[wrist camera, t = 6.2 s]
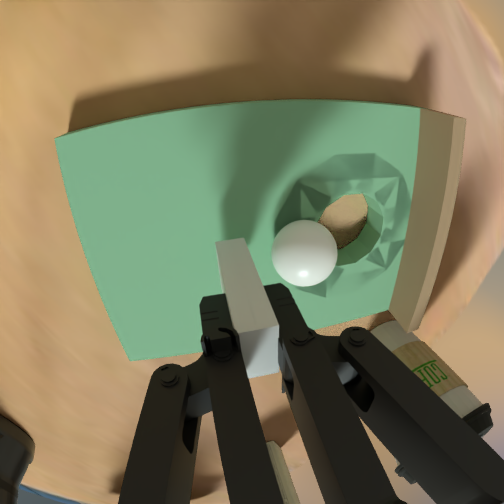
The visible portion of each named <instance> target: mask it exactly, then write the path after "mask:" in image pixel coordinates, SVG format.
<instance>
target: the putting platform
mask: <svg viewBox="0 0 504 504" xmlns="http://www.w3.org/2000/svg"><path fill="white" fill-rule="evenodd" d="M465 127H466V119H465V118H461V117H458V116H454V115H450V114H447V113H443V112H439V111H435V110H430V109H426V108H421V107H417V106H411V105H402V104H393V103H382V102H370V101H354V100H328V99H288V100H261V101H245V102H232V103H221V104H212V105H203V106H195V107H187V108H180V109H173V110H167V111H161V112H155V113H149V114H144V115H139V116H134V117H129V118H124V119H120V120H115V121H111V122H106V123H102V124H98V125H94V126H90V127H86V128H83V129H79V130H75V131H72V132H68V133H66V134H63V135H61V136H59V137H57V138H55V144H56V149H57V154H58V159H59V164H60V168H61V173H62V177H63V181H64V185H65V189H66V193H67V197H68V201H69V204H70V208H71V211H72V215H73V218H74V222H75V225H76V228H77V232H78V235H79V238H80V241H81V244H82V247H83V250H84V253H85V256H86V259H87V262H88V264H89V267H90V270H91V273H92V275H93V278H94V281H95V283H96V286H97V288H98V291H99V294H100V296H101V299H102V301H103V303H104V306H105V308H106V311H107V313H108V315H109V318H110V320H111V322H112V324H113V327H114V329H115V331H116V333H117V335H118V338H119V340H120V342H121V344H122V346H123V348H124V350H125V352H126V354H127V356H128V358H129V360H130V361H137V360H145V359H154V358H162V357H170V356H177V355H184V354H191V353H197V352H203V350H202V346H201V342H200V341H201V336H202V334H203V333H202V325H201V317H200V308H199V304H200V302H201V300H202V298H203V297H204V296H210V295H216V294H222V293H223V292H222V288H221V282H220V275H219V268H218V261H217V254H216V246H215V242H218V241H224V240H231V239H237V238H244V239H245V242H246V244H247V247H248V249H249V252H250V254H251V257H252V259H253V262H254V264H255V267H256V269H257V272H258V274H259V277H260V279H261V282H262V284H263V286H265V285H270V284H276V283H282V284H283V285H285V286H286V287H287V288H289V290H290V292H291V294H292V296H293V298H294V300H295V302H296V304H297V306H298V308H299V310H300V312H301V314H302V316H303V318H304V320H305V322H306V324H307V326H308V327H309V328H311V329H313V330H315V329H319V328H323V327H327V326H331V325H335V324H339V323H343V322H347V321H350V320H354V319H358V318H361V317H365V316H369V315H372V314H376V313H379V312H383V311H386V310H389V311H390V313H391V314H392V315H393V316H394V318H395V319H396V320H397V321H398V323H399V324H400V325H401V327H402V328H403V329H404V330H405V332H406V333H409V332H412V331H415V330H417V329H418V328H419V326H420V323H421V321H422V318H423V315H424V312H425V310H426V307H427V304H428V301H429V298H430V295H431V292H432V289H433V286H434V283H435V280H436V276H437V273H438V270H439V266H440V263H441V259H442V256H443V252H444V248H445V245H446V241H447V237H448V233H449V228H450V224H451V220H452V215H453V210H454V205H455V200H456V195H457V189H458V183H459V177H460V171H461V164H462V156H463V148H464V138H465ZM360 193H363V195H364V197H365V199H366V202H367V204H368V214H367V222H366V224H365V226H364V228H363V229H362V231H361V233H360V234H359V236H358V238H357V239H355V240H354V241H352V242H351V243H350V244H348V245H347V246H345V247H344V248H343V249H337V252H338V255H337V262H336V265H335V267H334V269H333V271H332V272H331V274H330V275H329V276H328V277H327V278H326V279H325V280H323V281H322V282H320V283H318V284H316V285H313V286H305V287H303V286H296V285H293V284H291V283H289V282H287V281H285V280H284V279H283V278H282V277H281V276H280V275H279V274H278V273H277V271H276V269H275V267H274V265H273V262H272V257H271V250H272V245H273V242H274V239H275V237H276V235H277V234H278V233H279V231H280V230H281V229H282V228H283V227H285V226H286V225H288V224H289V223H292V222H294V221H298V220H311V221H315V222H318V220H319V219H320V217H321V215H322V214H323V212H324V210H325V208H326V207H327V206H329V205H330V204H332V203H333V202H335V201H336V200H338V199H339V198H341V197H342V196H343V195H350V194H360Z"/></svg>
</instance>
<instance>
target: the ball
mask: <svg viewBox="0 0 504 504" xmlns="http://www.w3.org/2000/svg"><path fill="white" fill-rule="evenodd" d="M337 255H338V252H337V245H336V242H335V239H334V237H333V236H332V234H331V233H330V231H329V230H328V229H327V228H326V227H324V226H323V225H321V224H319V223H317V222H315V221H311V220H298V221H294V222H292V223H289V224H288V225H286V226H285V227H283V228H282V229H281V230H280V231H279V233H278V234H277V235H276V237H275V239H274V242H273V245H272V250H271V257H272V262H273V265H274V267H275V269H276V271H277V273H278V274H279V275H280V276H281V277H282V278H283V279H284V280H285V281H287V282H289V283H291V284H293V285H296V286H303V287H305V286H313V285H316V284H318V283H320V282H322V281H323V280H325V279H326V278H327V277H328V276H329V275H330V274H331V272H332V271H333V269H334V267H335V265H336V262H337Z"/></svg>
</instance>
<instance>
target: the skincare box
mask: <svg viewBox="0 0 504 504" xmlns="http://www.w3.org/2000/svg"><path fill="white" fill-rule="evenodd" d="M266 444H267V448H268V451H269V455H270V458H271V462H272V465H273V469H274V472H275V475H276V479H277V482H278V485H279V489H280V492H281V495H282V498H283V502H284V504H300V502H299V499H298V496H297V493H296V490H295V488H294V485H293V482H292V479H291V476H290V473H289V470H288V467H287V465H286V462H285V459H284V456H283V453H282V450H281V448H280V447H279V446H278V445H277V444H276V443H275V442H274V441H269V442H267V443H266Z"/></svg>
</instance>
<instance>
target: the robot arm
mask: <svg viewBox="0 0 504 504" xmlns="http://www.w3.org/2000/svg"><path fill="white" fill-rule="evenodd" d="M215 246H216V254H217V261H218V268H219V275H220V282H221V288H222V292H223V293H222V294H216V295H210V296H204V297H203V298H202V300H201V302H200V304H199V308H200V317H201V325H202V333H203V334H202V336H201V341H200V342H201V346H202V350H203V354H202V355H201V357H200V358H199V359H198V360H197V361H196V362H194V363H192V364H190V365H188V366H185V367H181V366H180V365H177V364H165V365H163V366H161V367H159V368H158V369H156V370H155V371H154V373H153V375H152V376H151V379H150V383H149V386H148V389H147V393H146V396H145V400H144V403H143V407H142V410H141V414H140V417H139V421H138V425H137V428H136V432H135V436H134V440H133V444H132V447H131V451H130V455H129V459H128V463H127V467H126V471H125V475H124V480H123V484H122V488H121V493H120V497H119V502H118V504H190V497H191V490H192V482H193V475H194V467H195V460H196V453H197V446H198V439H199V432H200V425H201V418H202V415H204V414H206V413H208V412H210V411H213V417H214V423H215V429H216V434H217V440H218V445H219V451H220V456H221V461H222V466H223V471H224V476H225V481H226V486H227V491H228V495H229V500H230V504H284V502H283V498H282V495H281V492H280V489H279V485H278V482H277V479H276V475H275V472H274V469H273V465H272V462H271V458H270V455H269V451H268V448H267V444H266V441H265V437H264V434H263V430H262V427H261V423H260V420H259V416H258V412H257V409H256V405H255V401H254V398H253V394H252V390H251V387H250V383H249V379H248V378H253V377H258V376H263V375H268V374H273V373H277V372H279V367H280V370H281V372H282V393H285V392H286V395H287V398H288V401H289V403H290V406H291V409H292V412H293V415H294V418H295V421H296V423H297V426H298V429H299V432H300V435H301V437H302V440H303V443H304V446H305V449H306V452H307V454H308V457H309V460H310V463H311V465H312V468H313V471H314V474H315V476H316V479H317V482H318V485H319V488H320V490H321V493H322V496H323V499H324V501H325V504H407V503H406V502H404V501H402V500H400V499H399V498H398V497H397V496H396V494H395V491H394V489H393V487H392V485H391V483H390V481H389V479H388V477H387V474H386V472H385V470H384V468H383V466H382V464H381V462H380V460H379V458H378V456H377V454H376V451H375V449H374V447H373V445H372V443H371V441H370V439H369V437H368V435H367V433H366V431H365V429H364V427H363V424H362V423H361V420H360V418H361V419H362V421H364V423H365V424H366V425H367V426H368V427H369V429H370V430H371V431H372V432H373V433H374V434H375V436H376V437H377V438H378V439H379V440H380V441H381V442H382V443H383V445H384V446H385V447H386V448H387V449H388V450H389V451H390V453H392V455H393V456H394V457H395V458H396V459H397V461H398V462H399V463H400V464H401V465H402V466H403V467H404V468H405V470H406V471H407V472H408V473H409V474H410V475H411V476H412V477H413V478H414V480H415V481H416V482H417V483H418V484H419V485H420V486H421V487H422V488H423V490H424V491H425V492H426V493H427V494H428V495H429V496H430V497H431V498H432V499H433V500H434V502H435V503H436V504H504V460H503V459H502V458H501V457H500V456H499V455H498V454H497V453H496V452H495V451H494V450H493V449H492V448H491V447H490V446H489V445H488V444H487V443H486V442H485V441H484V440H483V439H482V438H481V437H480V436H479V435H478V434H477V433H476V432H475V431H474V430H473V429H472V428H471V427H470V426H469V425H468V424H467V423H466V422H465V421H464V420H463V419H462V418H461V417H460V416H459V415H458V414H457V413H455V412H454V411H453V410H452V409H451V408H450V407H449V406H448V405H447V404H446V403H445V402H444V401H443V400H442V399H441V398H440V397H439V396H438V395H437V394H436V393H435V392H434V391H433V390H432V389H430V388H429V387H428V386H427V385H426V384H425V383H424V382H423V381H422V380H421V379H420V378H419V377H418V376H417V375H416V374H415V373H414V372H413V371H412V370H410V369H409V368H408V367H407V366H406V365H405V364H404V363H403V362H402V361H401V360H400V359H399V358H398V357H397V356H396V355H394V354H393V353H392V352H391V351H390V350H389V349H388V348H387V347H386V346H385V345H384V344H383V343H382V342H380V341H379V340H378V339H377V338H376V337H375V336H374V335H373V334H372V333H371V332H370V331H368V330H366V329H365V328H362V327H349V328H346V329H345V330H344V331H342V333H341V335H340V336H322V335H319V334H317V333H316V332H315V331H314V330H313V329H311V328H309V327H308V326H307V324H306V322H305V320H304V318H303V316H302V314H301V312H300V310H299V308H298V306H297V304H296V302H295V300H294V298H293V296H292V294H291V292H290V290H289V288H287V287H286V286H285V285H283V284H282V283H276V284H270V285H265V286H263V284H262V282H261V279H260V277H259V274H258V272H257V269H256V267H255V264H254V262H253V259H252V257H251V254H250V252H249V249H248V247H247V244H246V242H245V239H244V238H237V239H231V240H224V241H218V242H215ZM359 417H360V418H359ZM34 452H35V444H34V442H33V441H32V440H31V438H30V437H29V436H28V435H27V434H26V433H25V432H23V431H22V430H21V429H20V428H18V427H17V426H16V425H14V424H13V423H12V422H10V421H9V420H7V419H6V418H4V417H2V416H1V415H0V504H17V502H18V501H17V500H18V489H19V485H20V483H21V481H22V479H23V476H24V474H25V472H26V470H27V468H28V465H29V464H31V462H32V461H33V458H34Z"/></svg>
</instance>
